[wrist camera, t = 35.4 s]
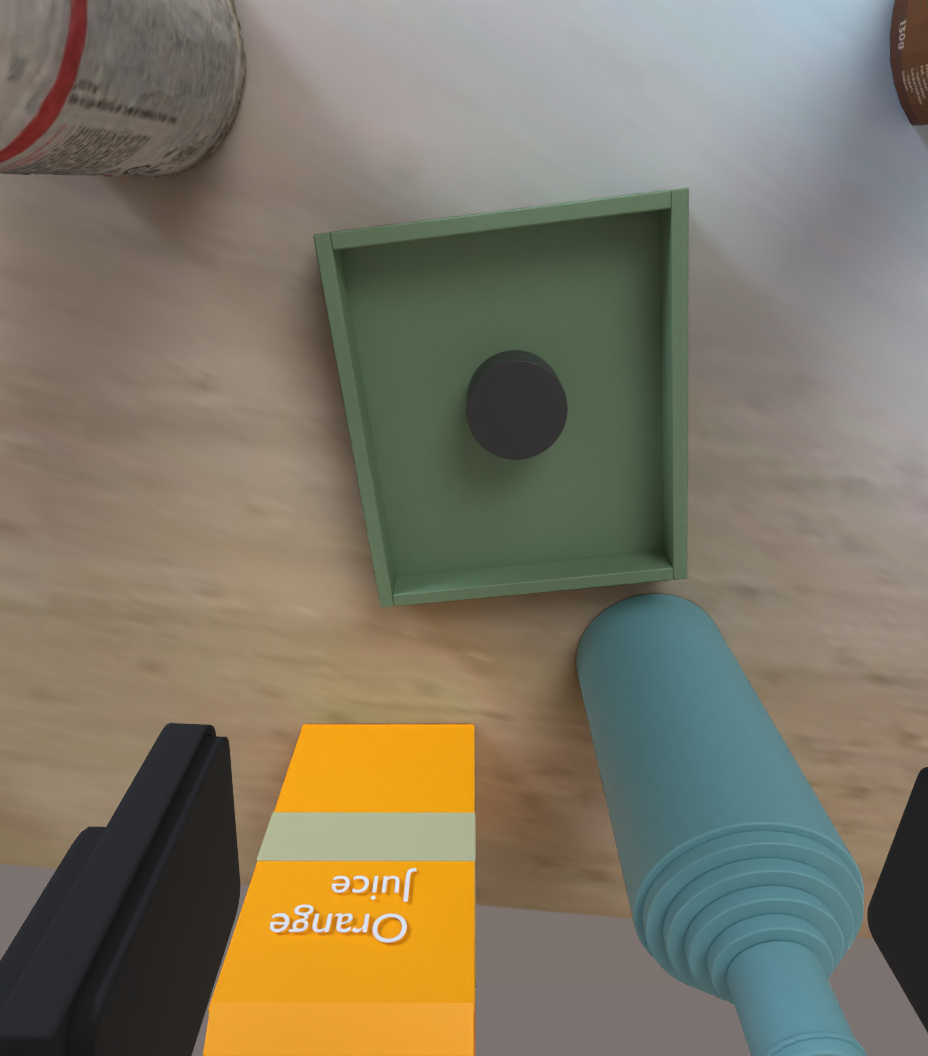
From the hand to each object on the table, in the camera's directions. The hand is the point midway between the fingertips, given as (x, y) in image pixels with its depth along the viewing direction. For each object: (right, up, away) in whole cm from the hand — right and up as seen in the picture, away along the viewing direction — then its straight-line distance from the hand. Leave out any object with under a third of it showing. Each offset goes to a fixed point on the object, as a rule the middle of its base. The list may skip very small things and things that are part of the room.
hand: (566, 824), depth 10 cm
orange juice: (-5, -9, +29) cm, 31 cm away
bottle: (+8, -2, +26) cm, 27 cm away
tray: (+1, +9, +21) cm, 23 cm away
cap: (+1, +9, +18) cm, 20 cm away
